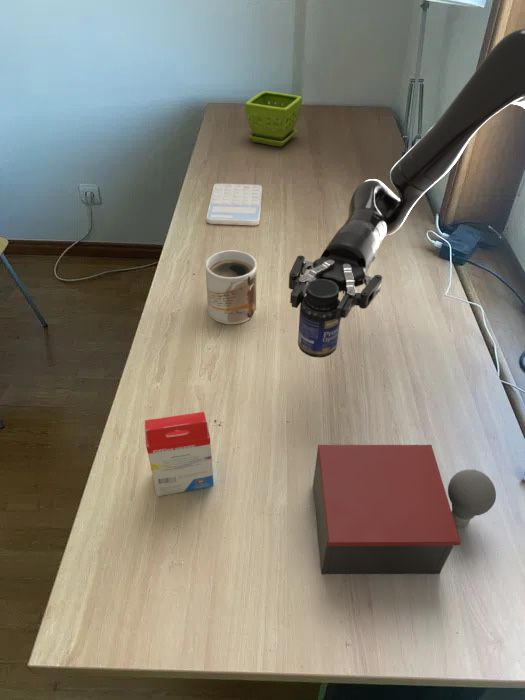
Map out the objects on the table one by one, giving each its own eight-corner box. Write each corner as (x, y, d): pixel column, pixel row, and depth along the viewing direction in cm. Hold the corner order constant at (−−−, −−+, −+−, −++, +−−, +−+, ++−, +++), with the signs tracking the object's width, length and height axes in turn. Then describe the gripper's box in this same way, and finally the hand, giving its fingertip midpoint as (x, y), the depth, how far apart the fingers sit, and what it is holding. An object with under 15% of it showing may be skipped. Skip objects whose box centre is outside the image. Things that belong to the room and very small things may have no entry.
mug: (198, 301, 116) (195, 255, 109) (249, 285, 121) (249, 240, 113) (221, 330, 109) (219, 283, 102) (274, 312, 114) (276, 266, 107)
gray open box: (440, 573, 74) (456, 539, 68) (321, 574, 73) (327, 539, 67) (417, 485, 84) (430, 448, 78) (312, 485, 83) (317, 448, 77)
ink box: (209, 461, 86) (204, 395, 76) (214, 488, 83) (210, 422, 73) (153, 470, 85) (141, 404, 75) (155, 498, 81) (143, 432, 71)
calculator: (262, 190, 154) (262, 183, 153) (259, 226, 139) (259, 219, 138) (214, 188, 155) (213, 181, 153) (205, 224, 140) (205, 217, 138)
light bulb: (478, 506, 81) (499, 464, 74) (481, 544, 77) (504, 502, 70) (436, 498, 82) (452, 456, 75) (437, 535, 78) (455, 493, 71)
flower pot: (300, 136, 184) (303, 95, 175) (284, 151, 174) (286, 109, 166) (261, 129, 188) (262, 88, 179) (243, 143, 178) (243, 102, 170)
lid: (458, 545, 67) (460, 542, 66) (328, 546, 67) (329, 542, 66) (430, 448, 78) (431, 444, 77) (317, 448, 77) (318, 444, 77)
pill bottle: (326, 364, 85) (333, 306, 77) (290, 350, 87) (293, 292, 79) (343, 340, 89) (351, 283, 81) (308, 328, 91) (313, 271, 83)
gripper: (311, 221, 91) (270, 274, 80) (399, 241, 87) (368, 300, 75) (308, 260, 96) (269, 316, 85) (391, 281, 92) (361, 342, 80)
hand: (316, 308), depth 80 cm, fingers closed on pill bottle, 6 cm apart
